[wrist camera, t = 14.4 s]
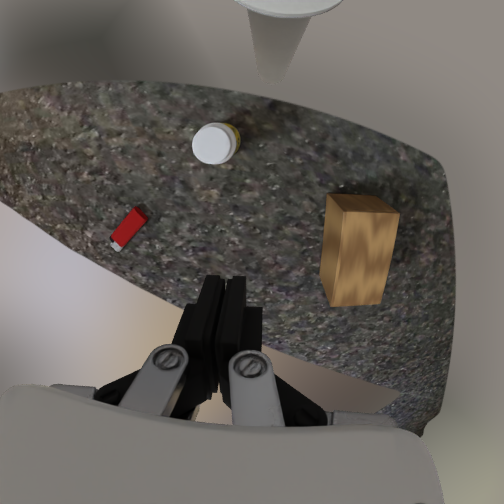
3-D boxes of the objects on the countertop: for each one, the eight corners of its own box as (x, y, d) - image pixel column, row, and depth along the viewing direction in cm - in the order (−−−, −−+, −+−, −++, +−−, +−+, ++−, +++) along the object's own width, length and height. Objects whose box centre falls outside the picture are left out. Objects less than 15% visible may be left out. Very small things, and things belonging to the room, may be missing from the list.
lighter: (146, 221, 38) (118, 253, 41) (149, 218, 39) (121, 250, 42) (132, 208, 37) (106, 241, 40) (136, 205, 39) (109, 238, 41)
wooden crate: (343, 211, 29) (400, 213, 29) (326, 192, 37) (374, 194, 37) (330, 307, 35) (380, 303, 35) (319, 275, 42) (362, 274, 42)
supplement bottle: (242, 156, 35) (235, 166, 28) (207, 159, 35) (191, 170, 28) (239, 120, 33) (231, 120, 25) (203, 124, 33) (185, 126, 26)
